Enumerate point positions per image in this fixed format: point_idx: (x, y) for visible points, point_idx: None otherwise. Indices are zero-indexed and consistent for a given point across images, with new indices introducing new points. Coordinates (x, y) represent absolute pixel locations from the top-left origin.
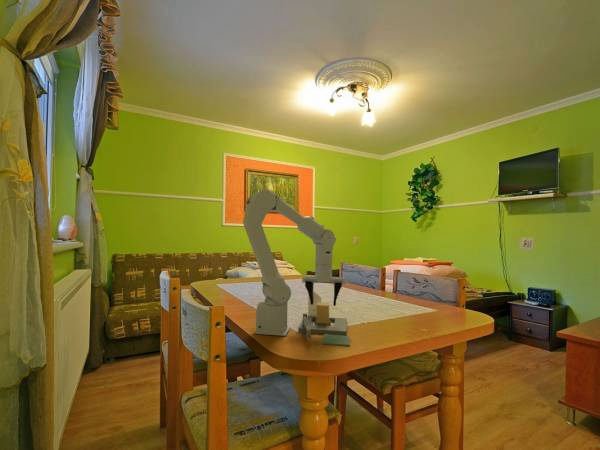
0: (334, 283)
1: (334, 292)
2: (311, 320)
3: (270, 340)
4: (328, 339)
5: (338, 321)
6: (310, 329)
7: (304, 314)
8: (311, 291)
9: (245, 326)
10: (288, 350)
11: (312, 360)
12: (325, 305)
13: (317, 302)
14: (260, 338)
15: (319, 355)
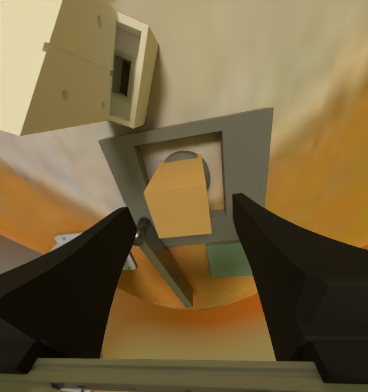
0: (300, 369)
1: (262, 296)
2: (144, 175)
3: (125, 280)
4: (220, 264)
5: (237, 165)
6: (191, 305)
7: (136, 244)
8: (109, 300)
9: (30, 244)
10: (168, 297)
11: (208, 309)
12: (197, 233)
13: (94, 55)
14: None
15: (214, 300)
